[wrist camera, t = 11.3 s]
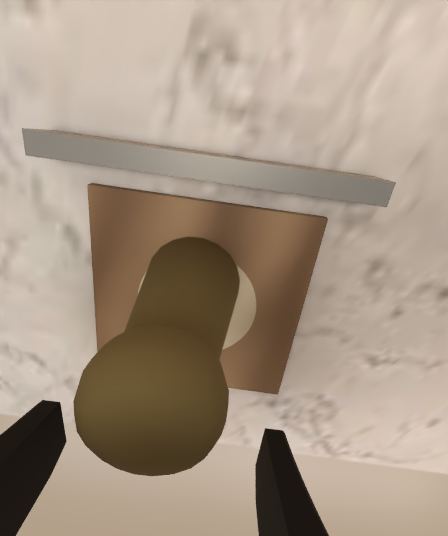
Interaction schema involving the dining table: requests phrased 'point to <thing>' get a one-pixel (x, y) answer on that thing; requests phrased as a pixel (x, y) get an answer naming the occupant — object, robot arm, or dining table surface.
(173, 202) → the walnut board
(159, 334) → the cork
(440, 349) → the dining table surface
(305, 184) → the low wall
